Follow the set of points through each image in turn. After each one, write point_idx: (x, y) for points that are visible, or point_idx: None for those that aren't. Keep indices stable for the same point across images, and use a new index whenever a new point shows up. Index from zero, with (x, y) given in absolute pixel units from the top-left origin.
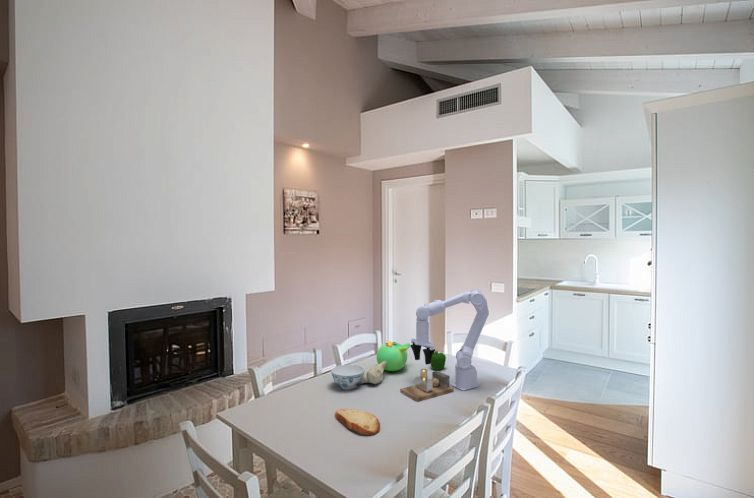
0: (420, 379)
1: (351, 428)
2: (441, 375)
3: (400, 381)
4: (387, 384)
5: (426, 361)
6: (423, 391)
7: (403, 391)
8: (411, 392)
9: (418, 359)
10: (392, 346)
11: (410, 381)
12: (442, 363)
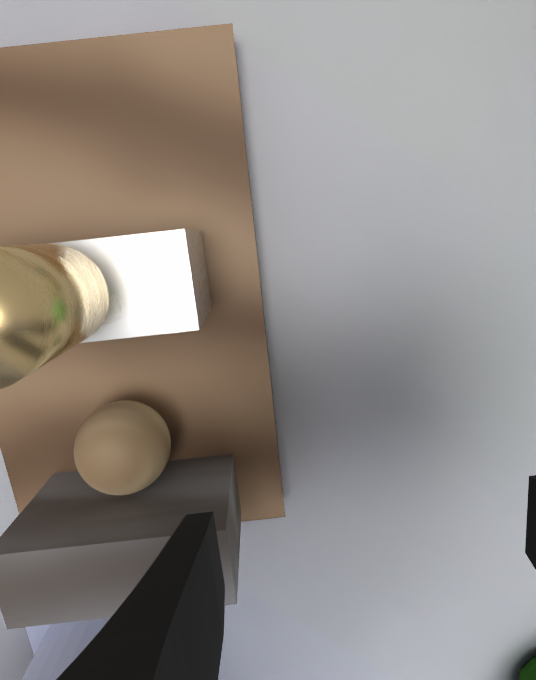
0: (66, 245)
1: None
2: (53, 557)
3: (500, 219)
4: (508, 25)
5: (155, 559)
6: (52, 241)
7: (166, 36)
8: (71, 92)
9: (531, 536)
10: None
11: (442, 315)
12: None
